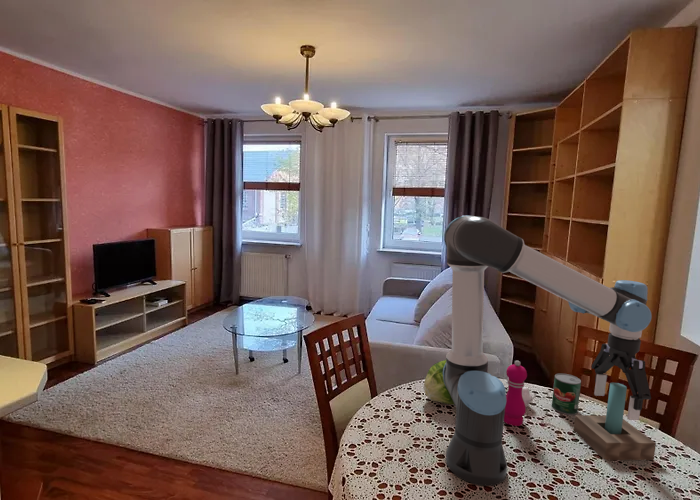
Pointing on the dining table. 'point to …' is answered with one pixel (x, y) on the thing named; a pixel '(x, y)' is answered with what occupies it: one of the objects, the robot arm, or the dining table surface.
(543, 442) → the dining table surface
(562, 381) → the canned tomato
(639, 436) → the socket block
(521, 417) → the pepper mill
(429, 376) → the lettuce
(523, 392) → the white citrus juicer
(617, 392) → the peg
